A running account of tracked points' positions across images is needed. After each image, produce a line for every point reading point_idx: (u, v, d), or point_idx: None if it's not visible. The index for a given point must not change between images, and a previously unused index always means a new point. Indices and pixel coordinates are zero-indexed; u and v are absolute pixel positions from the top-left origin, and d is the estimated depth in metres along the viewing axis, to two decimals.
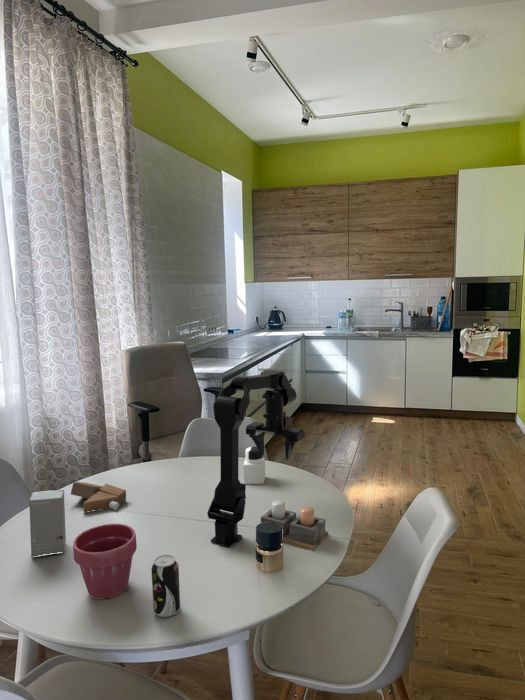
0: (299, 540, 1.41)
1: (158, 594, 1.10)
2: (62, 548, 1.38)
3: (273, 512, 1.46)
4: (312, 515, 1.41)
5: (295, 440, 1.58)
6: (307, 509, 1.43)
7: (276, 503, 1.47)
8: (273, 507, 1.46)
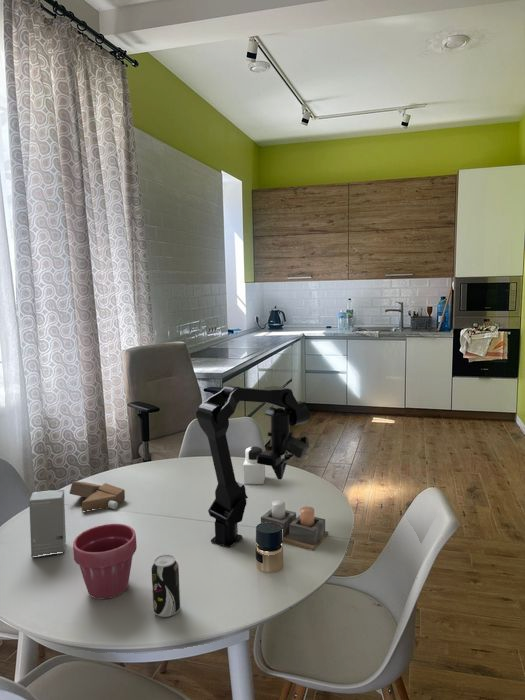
0: (299, 540, 1.41)
1: (158, 594, 1.10)
2: (62, 548, 1.38)
3: (273, 512, 1.46)
4: (312, 515, 1.41)
5: (257, 461, 1.49)
6: (307, 509, 1.43)
7: (276, 503, 1.47)
8: (273, 507, 1.46)
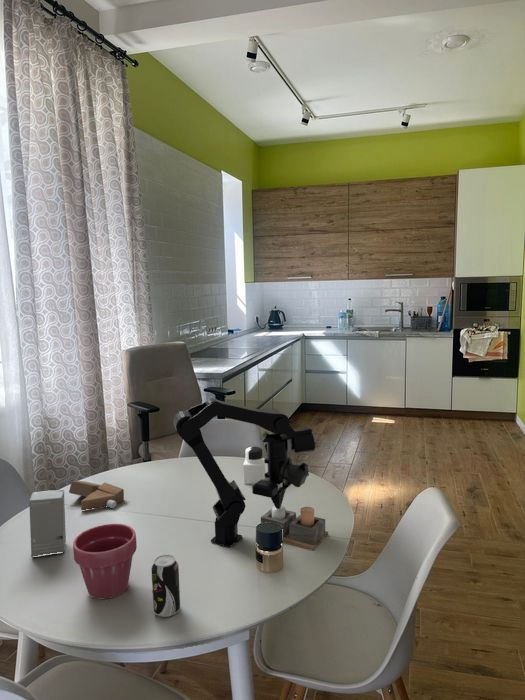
0: (299, 540, 1.41)
1: (158, 594, 1.10)
2: (62, 548, 1.38)
3: (273, 517, 1.46)
4: (312, 515, 1.41)
5: (252, 491, 1.40)
6: (307, 509, 1.43)
7: None
8: (273, 512, 1.46)
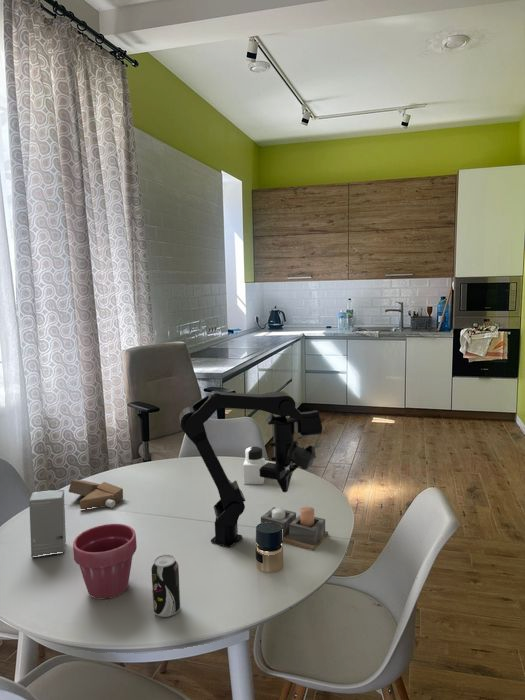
0: (299, 540, 1.41)
1: (158, 594, 1.10)
2: (62, 548, 1.38)
3: None
4: (312, 515, 1.41)
5: (259, 474, 1.38)
6: (307, 509, 1.43)
7: (277, 511, 1.47)
8: (273, 515, 1.46)
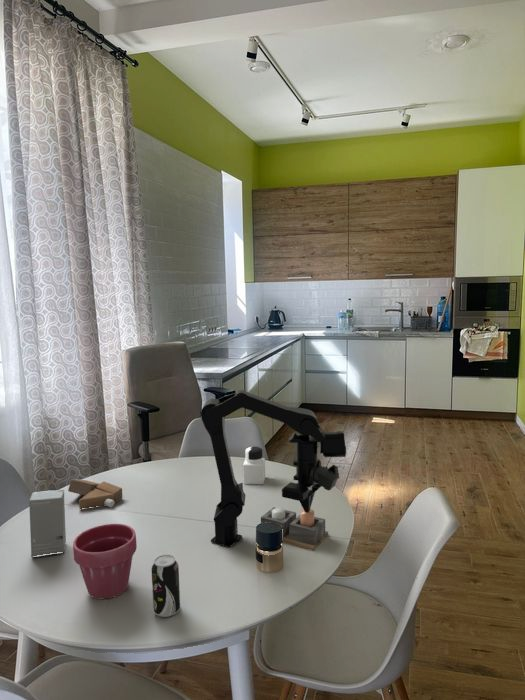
0: (299, 540, 1.41)
1: (158, 594, 1.10)
2: (62, 548, 1.38)
3: None
4: (312, 517, 1.42)
5: (282, 494, 1.36)
6: None
7: (277, 511, 1.47)
8: (273, 515, 1.46)
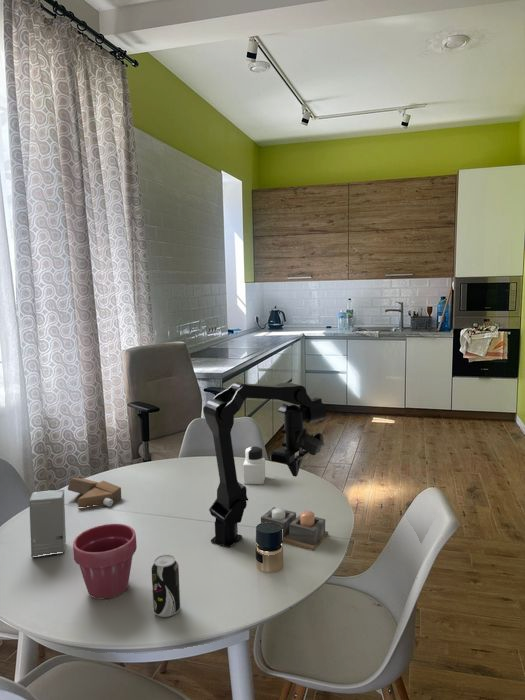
0: (299, 540, 1.41)
1: (158, 594, 1.10)
2: (62, 548, 1.38)
3: None
4: (312, 519, 1.42)
5: (270, 458, 1.49)
6: (307, 513, 1.43)
7: (277, 511, 1.47)
8: (273, 515, 1.46)
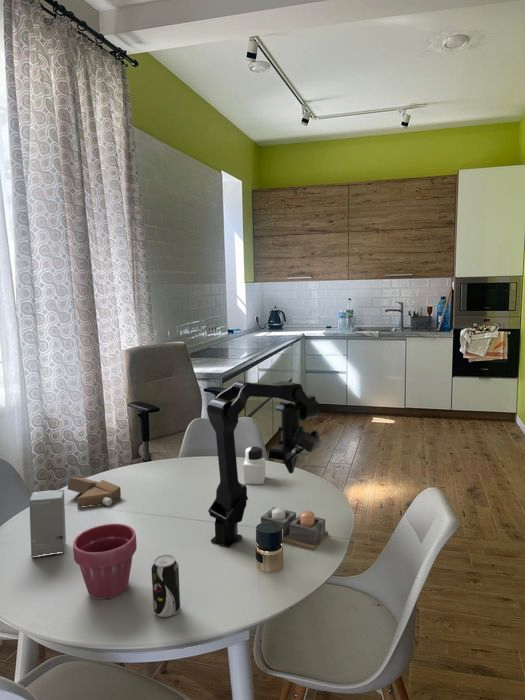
0: (299, 540, 1.41)
1: (158, 594, 1.10)
2: (62, 548, 1.38)
3: None
4: (312, 519, 1.42)
5: (268, 455, 1.52)
6: (307, 513, 1.43)
7: (277, 511, 1.47)
8: (273, 515, 1.46)
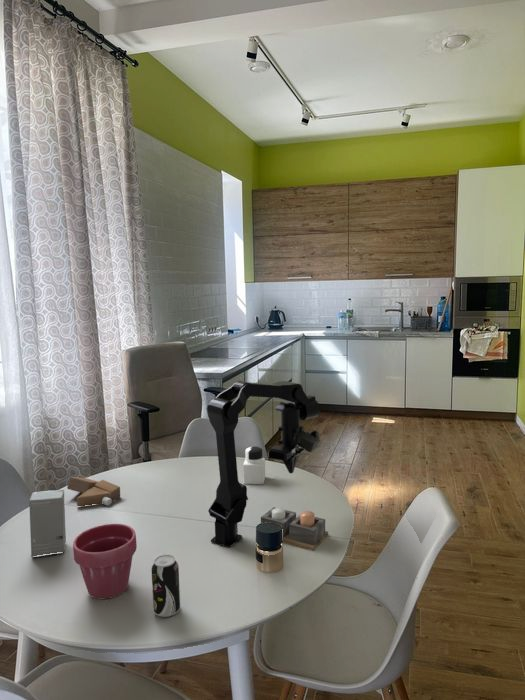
0: (299, 540, 1.41)
1: (158, 594, 1.10)
2: (62, 548, 1.38)
3: None
4: (312, 519, 1.42)
5: (268, 455, 1.52)
6: (307, 513, 1.43)
7: (277, 511, 1.47)
8: (273, 515, 1.46)
